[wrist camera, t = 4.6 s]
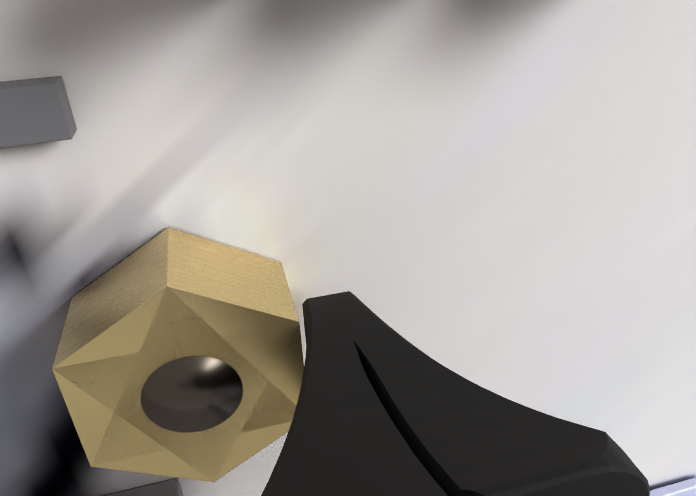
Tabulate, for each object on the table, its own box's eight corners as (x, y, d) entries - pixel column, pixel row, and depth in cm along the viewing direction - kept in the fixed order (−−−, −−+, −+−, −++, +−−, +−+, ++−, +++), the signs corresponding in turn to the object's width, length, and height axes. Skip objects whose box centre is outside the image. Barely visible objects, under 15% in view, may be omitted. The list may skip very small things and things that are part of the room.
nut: (333, 320, 15) (358, 384, 13) (168, 433, 15) (167, 514, 13) (217, 190, 12) (226, 244, 10) (25, 330, 13) (-5, 409, 11)
